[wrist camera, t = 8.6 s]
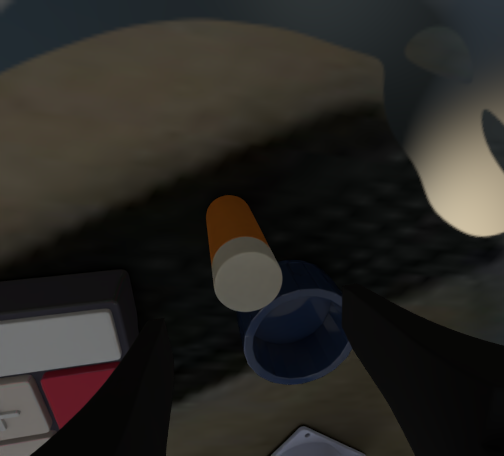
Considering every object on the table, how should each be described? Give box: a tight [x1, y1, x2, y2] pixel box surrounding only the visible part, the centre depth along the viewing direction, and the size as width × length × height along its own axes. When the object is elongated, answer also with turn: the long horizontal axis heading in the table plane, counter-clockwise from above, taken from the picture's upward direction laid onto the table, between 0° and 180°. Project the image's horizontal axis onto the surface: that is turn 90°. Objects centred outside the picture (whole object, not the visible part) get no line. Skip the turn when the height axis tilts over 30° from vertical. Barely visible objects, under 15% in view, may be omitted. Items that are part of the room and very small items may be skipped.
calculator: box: [0, 269, 139, 456], centre depth 22 cm, size 11×4×15 cm
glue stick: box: [206, 195, 282, 312], centre depth 18 cm, size 3×3×8 cm
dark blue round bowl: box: [237, 260, 352, 385], centre depth 24 cm, size 8×8×4 cm
